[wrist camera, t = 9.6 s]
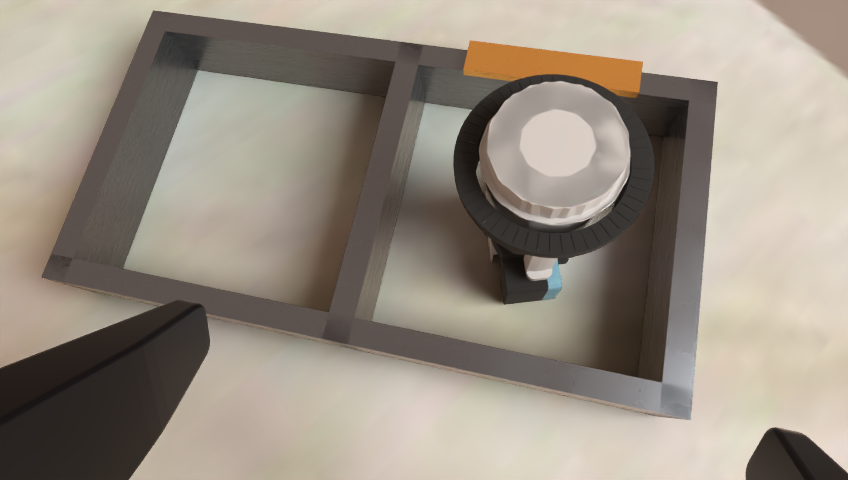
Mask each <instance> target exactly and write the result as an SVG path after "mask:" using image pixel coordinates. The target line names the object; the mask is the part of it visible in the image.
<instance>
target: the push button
mask: <svg viewBox="0 0 848 480" xmlns="http://www.w3.org/2000/svg"><path fill="white" fill-rule="evenodd" d="M479 160H480V167H481V173H482V176H483V179H484V181H485V182H486V189H485V195H486V197H485V195H484V193H483V192H482V190H481V187H480V185H479V183H478V179H477V176H476V169H477V165H478V162H479ZM654 172H655V161H654V153H653V148H652V144H651V141H650V138H649V135H648V133H647V131H646V129H645V127H644V125H643V123H642V122H641V120H640V119H639V117H638V116H637V114H636V113H635V112H634V111H633V110H632V109H631V107H630V106H629V105H628V104H627V103H626V102H624V101H623V100H622V99H621V98H620V97H618V96H617V95H616V94H614V93H613V92H611V91H610V90H608V89H606V88H605V87H603V86H601V85H599V84H597V83H594V82H591V81H589V80H586V79H582V78H579V77H575V76H569V75H560V74H543V75H534V76H529V77H525V78H521V79H518V80H515V81H512V82H510V83H507V84H505V85H503V86H501V87H499V88H498V89H496V90H495V91H493V92H491V93H490V94H489V95H487V96H486V97H485V98H484V99H482V100H481V101H480V102H479V103H478V104H477V105H476V106H475V108H474V109H473V110H472V111H471V112H470V114H469V115H468V117H467V118H466V120H465V121H464V123H463V125H462V127H461V129H460V132H459V135H458V137H457V141H456V145H455V150H454V176H455V183H456V187H457V191H458V194H459V197H460V199H461V201H462V203H463V206H464V208H465V209H466V211H467V212H468V214H469V216H470V217H471V218H472V219H473V221H474V222H475V223H476V224H477V225H478V226H479V227H480V228H481V229H482V231H484V233H485V234H486V236H487V237H488V245H489V252H490V259H491V263H493V259H494V255H497V254H498V255H499V256H500V259H501V290H502V297H503V303H504V304H513V303H521V302H529V301H538V300H546V299H555V297H556V295H557V294H558V292H559V291H560V290H561V287H562V283H561V276H560V271H559V265H558V264H566V263H567V261H568V260H569V259H568V258H572V257H575V256H579V255H583V254H586V253H589V252H592V251H595V250H597V249H599V248H601V247H604V246H605V245H607V244H609V243H610V242H612V241H613V240H615V239H616V238H617V237H619V236H620V235H621V234H622V233H623V232H624V231H625V230H626V229H627V228H629V226H630V225H631V224H632V223H633V222H634V221H635V219H636V218H637V217H638V216H639V214H640V213H641V211H642V210H643V208H644V206H645V204H646V202H647V200H648V198H649V195H650V192H651V189H652V185H653V181H654ZM615 200H616V201H615ZM614 201H615V204H614V207H613V209H612V211H611V212H610V213H609V214H608V215H607V216H606V217H604V218H603V219H601V220H600V221H598V222H596V223H595V224H593V225H591V226H588V227H586V228H584V227H585V226H586V225H587V224H588V223H589V222H590V220H591V219H592V218H593V217H594V216H595V215H596V214H598V213H599V212H601V211H602V210H604V209H605V208H607V207H608V206H610V205H611V204H612V203H613V202H614Z"/></svg>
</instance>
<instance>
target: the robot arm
mask: <svg viewBox="0 0 848 480" xmlns="http://www.w3.org/2000/svg"><path fill="white" fill-rule="evenodd" d="M209 346H210V337H209V330H208V324H207V317H206V311H205V308H204V306H203V305H202V304H200V303H197V302H192V301H188V300H181V299H180V300H175V301H173V302H170V303H167V304H165V305H162V306H160V307H157V308H155V309H152V310H149V311H147V312H144V313H142V314H139V315H136V316H134V317H131V318H129V319H126V320H124V321H121V322H118V323H116V324H113V325H111V326H108V327H105V328H103V329H100V330H98V331H95V332H93V333H90V334H87V335H85V336H82V337H80V338H77V339H74V340H72V341H69V342H67V343H64V344H61V345H59V346H56V347H54V348H51V349H49V350H46V351H43V352H41V353H38V354H36V355H33V356H30V357H28V358H25V359H23V360H20V361H18V362H15V363H12V364H10V365H7V366H5V367H2V368H0V480H129V479H130V477H131V476H132V475H133V473H134V472H135V470H136V469H137V468H138V466H139V465H140V463H141V462H142V461H143V459H144V458H145V456H146V455H147V454H148V452H149V451H150V449H151V448H152V446H153V445H154V444H155V442H156V441H157V439H158V438H159V436H160V435H161V433H162V432H163V430H164V429H165V427H166V425H167V424H168V422H169V420H170V419H171V417H172V415H173V413H174V412H175V410H176V408H177V406H178V405H179V403H180V401H181V399H182V398H183V396H184V394H185V392H186V391H187V389H188V387H189V385H190V384H191V382H192V380H193V378H194V377H195V375H196V373H197V371H198V370H199V368H200V366H201V364H202V362H203V361H204V359H205V357H206V355H207V353H208V350H209ZM746 480H848V473H847V472H846V471H845V470H844V469H843V468H842V467H841V466H839V465H838V464H837V463H836V462H835V461H834V460H833V459H832V458H831V457H829V456H828V455H827V454H826V453H825V452H824V451H823V450H822V449H821V448H820V447H818V446H817V445H816V444H815V443H814V442H813V441H812V440H811V439H810V438H808V437H807V436H806V435H804V434H802V433H799V432H796V431H791V430H786V429H782V428H776V427H775V428H770V429H769V430H767V431H766V433H765V434H764V436H763V438H762V439H761V441H760V443H759V445H758V446H757V448H756V450H755V451H754V453H753V455H752V457H751V458H750V460H749V462H748V464H747V468H746Z"/></svg>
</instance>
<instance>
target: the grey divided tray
mask: <svg viewBox="0 0 848 480" xmlns="http://www.w3.org/2000/svg"><path fill="white" fill-rule="evenodd" d="M642 65H643V62H639V61H631V60H623V59H615V58H607V57H599V56H591V55H583V54H575V53H567V52H558V51H550V50H542V49H534V48H526V47H518V46H510V45H502V44H494V43H486V42H478V41H470V42H469V47H468V50H461V49H453V48H445V47H437V46H429V45H421V44H413V43H405V42H397V41H390V40H382V39H374V38H366V37H358V36H350V35H342V34H334V33H326V32H319V31H311V30H303V29H295V28H287V27H279V26H271V25H263V24H255V23H248V22H240V21H232V20H224V19H216V18H208V17H200V16H192V15H184V14H177V13H169V12H161V11H153V12H152V15H151V17H150V19H149V22H148V24H147V27H146V29H145V31H144V34H143V36H142V38H141V41H140V43H139V46H138V48H137V50H136V53H135V55H134V58H133V60H132V62H131V65H130V67H129V69H128V72H127V74H126V77H125V79H124V81H123V84H122V86H121V89H120V91H119V93H118V96H117V98H116V101H115V103H114V105H113V108H112V110H111V112H110V115H109V117H108V120H107V122H106V124H105V127H104V129H103V132H102V134H101V136H100V139H99V141H98V143H97V146H96V148H95V151H94V153H93V155H92V158H91V160H90V163H89V165H88V167H87V170H86V172H85V175H84V177H83V179H82V182H81V184H80V186H79V189H78V191H77V194H76V196H75V198H74V201H73V203H72V206H71V208H70V210H69V213H68V215H67V217H66V220H65V222H64V225H63V227H62V229H61V232H60V234H59V237H58V239H57V241H56V244H55V246H54V249H53V251H52V253H51V256H50V258H49V260H48V263H47V265H46V268H45V270H44V272H43V275H42V278H46V279H49V280H53V281H56V282H60V283H63V284H67V285H71V286H74V287H78V288H81V289H85V290H89V291H92V292H96V293H101V294H106V295H110V296H115V297H119V298H124V299H128V300H133V301H137V302H142V303H146V304H151V305H155V306H162V305H165V304H167V303H170V302H173V301H175V300H180V299H181V300H188V301H192V302H197V303H200V304H202V305H203V306H204V308H205V311H206V317H210V318H214V319H219V320H224V321H228V322H233V323H237V324H242V325H246V326H251V327H255V328H260V329H264V330H269V331H273V332H278V333H283V334H287V335H292V336H296V337H301V338H305V339H310V340H314V341H319V342H323V343H328V344H332V345H337V346H341V347H346V348H351V349H355V350H360V351H364V352H369V353H373V354H378V355H382V356H387V357H391V358H396V359H400V360H405V361H410V362H414V363H419V364H423V365H428V366H432V367H437V368H441V369H446V370H450V371H455V372H459V373H464V374H469V375H473V376H478V377H482V378H487V379H491V380H496V381H500V382H505V383H509V384H514V385H518V386H523V387H527V388H532V389H537V390H541V391H546V392H550V393H555V394H559V395H564V396H568V397H573V398H577V399H582V400H586V401H591V402H596V403H600V404H605V405H609V406H614V407H618V408H623V409H627V410H632V411H636V412H641V413H645V414H650V415H655V416H659V417H667V418H677V419H687V420H691V409H692V397H693V384H694V372H695V359H696V347H697V334H698V322H699V309H700V297H701V284H702V272H703V259H704V247H705V234H706V222H707V209H708V197H709V184H710V171H711V159H712V146H713V134H714V121H715V109H716V96H717V84H718V82H713V81H705V80H697V79H689V78H682V77H674V76H666V75H658V74H650V73H642ZM198 70H204V71H211V72H218V73H225V74H231V75H238V76H245V77H252V78H259V79H266V80H273V81H280V82H287V83H294V84H301V85H308V86H315V87H322V88H329V89H336V90H343V91H350V92H357V93H364V94H371V95H378V96H385V97H386V100H385V104H384V108H383V111H382V115H381V119H380V123H379V126H378V130H377V134H376V138H375V141H374V145H373V149H372V153H371V156H370V160H369V164H368V168H367V171H366V175H365V179H364V183H363V186H362V190H361V194H360V198H359V201H358V205H357V209H356V213H355V216H354V220H353V224H352V228H351V231H350V235H349V239H348V243H347V246H346V250H345V254H344V258H343V261H342V265H341V269H340V273H339V276H338V280H337V284H336V288H335V291H334V295H333V299H332V303H331V306H330V310H329V312H324V311H320V310H315V309H310V308H305V307H301V306H296V305H291V304H287V303H282V302H277V301H272V300H268V299H263V298H258V297H253V296H249V295H244V294H239V293H234V292H230V291H225V290H220V289H215V288H211V287H206V286H201V285H196V284H192V283H187V282H182V281H178V280H173V279H168V278H163V277H159V276H154V275H149V274H144V273H140V272H135V271H130V270H125V269H123V266H124V263H125V261H126V258H127V255H128V253H129V250H130V247H131V245H132V242H133V240H134V237H135V234H136V232H137V229H138V226H139V224H140V221H141V218H142V216H143V213H144V211H145V208H146V205H147V203H148V200H149V197H150V195H151V192H152V189H153V187H154V184H155V182H156V179H157V176H158V174H159V171H160V168H161V166H162V163H163V160H164V158H165V155H166V152H167V150H168V147H169V145H170V142H171V139H172V137H173V134H174V131H175V129H176V126H177V123H178V121H179V118H180V116H181V113H182V110H183V108H184V105H185V102H186V100H187V97H188V94H189V92H190V89H191V87H192V84H193V81H194V79H195V76H196V73H197V71H198ZM543 74H560V75H569V76H575V77H579V78H582V79H586V80H589V81H591V82H594V83H597V84H599V85H601V86H603V87H605V88H606V89H608V90H610V91H611V92H613V93H614V94H616V95H617V96H618V97H620V98H621V99H622V100H623V101H624V102H626V103H627V104H628V105H629V106H630V107H631V109H632V110H633V111H634V112H635V113H636V114H637V116H638V117H639V119H640V120H641V122H642V123H643V125H644V127H645V129H646V131H647V133H648V134H650V135H657V136H664V137H663V146H662V156H661V165H660V174H659V184H658V193H657V202H656V212H655V221H654V230H653V240H652V249H651V258H650V268H649V277H648V286H647V295H646V305H645V314H644V323H643V333H642V342H641V351H640V361H639V370H638V378H637V377H633V376H628V375H623V374H618V373H614V372H609V371H604V370H599V369H595V368H590V367H585V366H580V365H576V364H571V363H566V362H561V361H557V360H552V359H547V358H542V357H538V356H533V355H528V354H524V353H519V352H514V351H509V350H505V349H500V348H495V347H490V346H486V345H481V344H476V343H471V342H467V341H462V340H457V339H452V338H448V337H443V336H438V335H433V334H429V333H424V332H419V331H414V330H410V329H405V328H400V327H396V326H391V325H386V324H381V323H377V322H372V317H373V313H374V309H375V305H376V301H377V297H378V293H379V289H380V285H381V280H382V276H383V272H384V268H385V264H386V260H387V256H388V252H389V248H390V244H391V239H392V235H393V231H394V227H395V223H396V219H397V215H398V211H399V207H400V203H401V198H402V194H403V190H404V186H405V182H406V178H407V174H408V170H409V166H410V162H411V158H412V153H413V149H414V145H415V141H416V137H417V133H418V129H419V125H420V121H421V117H422V112H423V108H424V104H425V102H427V103H434V104H441V105H448V106H455V107H461V108H468V109H474V108H475V106H476V105H477V104H478V103H479V102H480V101H481V100H482V99H484V98H485V97H486V96H487V95H489V94H490V93H491V92H493V91H495V90H496V89H498V88H499V87H501V86H503V85H505V84H507V83H510V82H512V81H515V80H518V79H521V78H525V77H529V76H534V75H543Z"/></svg>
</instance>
